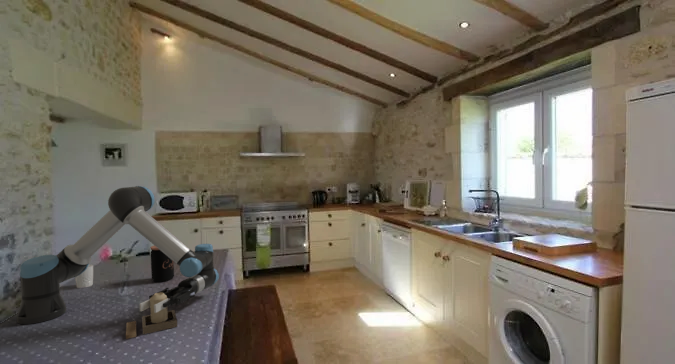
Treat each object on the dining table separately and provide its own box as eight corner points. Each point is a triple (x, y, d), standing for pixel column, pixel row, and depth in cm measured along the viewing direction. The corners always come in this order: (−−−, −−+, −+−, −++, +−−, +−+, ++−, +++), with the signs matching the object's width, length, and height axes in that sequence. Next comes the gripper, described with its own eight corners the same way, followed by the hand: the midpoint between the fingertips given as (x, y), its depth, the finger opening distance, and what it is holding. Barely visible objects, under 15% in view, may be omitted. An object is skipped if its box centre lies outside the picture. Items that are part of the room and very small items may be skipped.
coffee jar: (165, 283, 176) (163, 248, 176) (147, 282, 178) (145, 248, 178) (178, 276, 187) (177, 244, 186) (161, 276, 189) (160, 243, 188)
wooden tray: (142, 334, 120) (142, 327, 120) (142, 323, 129) (142, 316, 129) (177, 326, 125) (177, 319, 125) (174, 316, 135) (174, 309, 135)
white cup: (71, 287, 173) (70, 268, 173) (87, 282, 180) (86, 263, 180) (81, 289, 170) (80, 269, 170) (97, 284, 177) (96, 265, 177)
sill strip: (126, 339, 117) (125, 335, 117) (126, 325, 127) (126, 322, 127) (136, 336, 118) (136, 333, 118) (136, 323, 129) (136, 320, 129)
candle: (156, 324, 123) (155, 297, 123) (148, 321, 126) (146, 294, 126) (170, 318, 128) (169, 292, 128) (162, 315, 131) (161, 290, 131)
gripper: (210, 296, 142) (170, 320, 120) (172, 293, 147) (126, 316, 124) (209, 278, 142) (169, 299, 120) (171, 276, 147) (125, 296, 124)
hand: (147, 308), depth 122 cm, fingers closed on candle, 5 cm apart
